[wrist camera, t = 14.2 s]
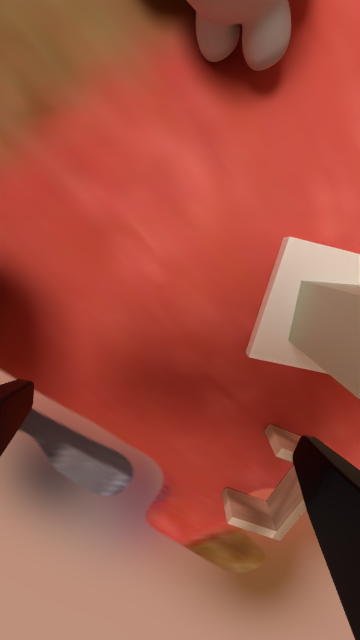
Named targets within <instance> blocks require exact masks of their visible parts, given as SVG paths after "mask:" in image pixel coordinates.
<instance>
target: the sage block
mask: <svg viewBox="0 0 360 640" xmlns="http://www.w3.org/2000/svg"><path fill="white" fill-rule="evenodd" d="M288 341H290V342H291V343H292V344H293V345H294V346H296V347H297V348H298V349H299V350H300V351H302V352H303V353H304V354H305V355H306V356H308V357H309V358H310V359H311V360H312V361H314V362H315V363H316V364H317V365H318V366H320V367H321V368H322V369H323V370H324V371H326V372H327V373H328V374H329V375H330V376H332V377H333V378H334V379H335V380H336V381H338V382H339V383H340V384H341V385H342V386H344V387H345V388H346V389H347V390H348V391H350V392H351V393H352V394H353V395H354V396H356V397H357V398H358V399H359V400H360V285H355V284H341V283H328V282H315V281H302V280H301V284H300V288H299V293H298V297H297V302H296V307H295V311H294V316H293V320H292V325H291V329H290V334H289V338H288Z"/></svg>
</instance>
